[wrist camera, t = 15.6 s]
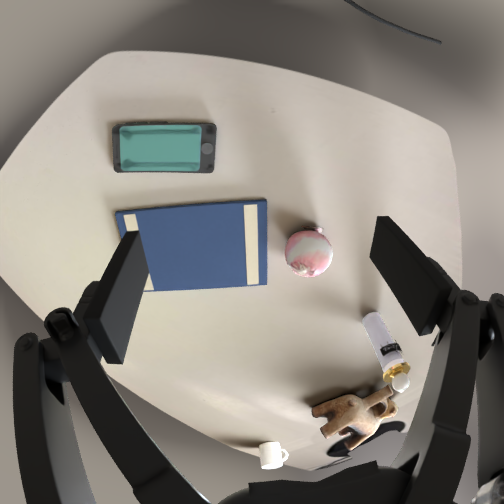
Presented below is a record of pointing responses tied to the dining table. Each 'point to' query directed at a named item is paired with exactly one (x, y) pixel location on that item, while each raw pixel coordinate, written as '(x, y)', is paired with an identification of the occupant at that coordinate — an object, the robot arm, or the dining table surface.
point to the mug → (271, 455)
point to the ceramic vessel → (355, 415)
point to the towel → (201, 244)
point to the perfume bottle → (387, 352)
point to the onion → (308, 252)
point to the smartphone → (164, 147)
